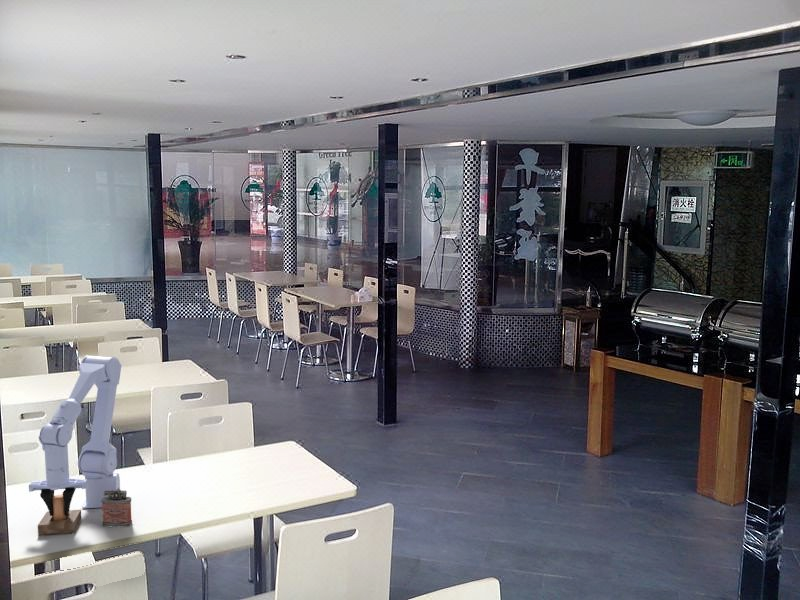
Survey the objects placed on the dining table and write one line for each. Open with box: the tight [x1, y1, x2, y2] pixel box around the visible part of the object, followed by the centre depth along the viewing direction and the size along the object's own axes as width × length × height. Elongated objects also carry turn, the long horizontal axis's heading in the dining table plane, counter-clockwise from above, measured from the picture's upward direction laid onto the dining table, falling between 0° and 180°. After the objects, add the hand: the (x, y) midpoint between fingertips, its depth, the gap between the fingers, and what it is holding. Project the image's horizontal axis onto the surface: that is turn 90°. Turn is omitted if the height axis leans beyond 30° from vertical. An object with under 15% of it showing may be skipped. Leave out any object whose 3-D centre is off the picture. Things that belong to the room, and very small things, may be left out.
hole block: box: [37, 509, 82, 537], centre depth 209 cm, size 9×9×3 cm
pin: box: [53, 494, 66, 521], centre depth 209 cm, size 3×3×8 cm
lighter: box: [101, 488, 133, 528], centre depth 211 cm, size 8×3×10 cm, turn 92°
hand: (59, 514), depth 209 cm, fingers closed on pin, 3 cm apart
